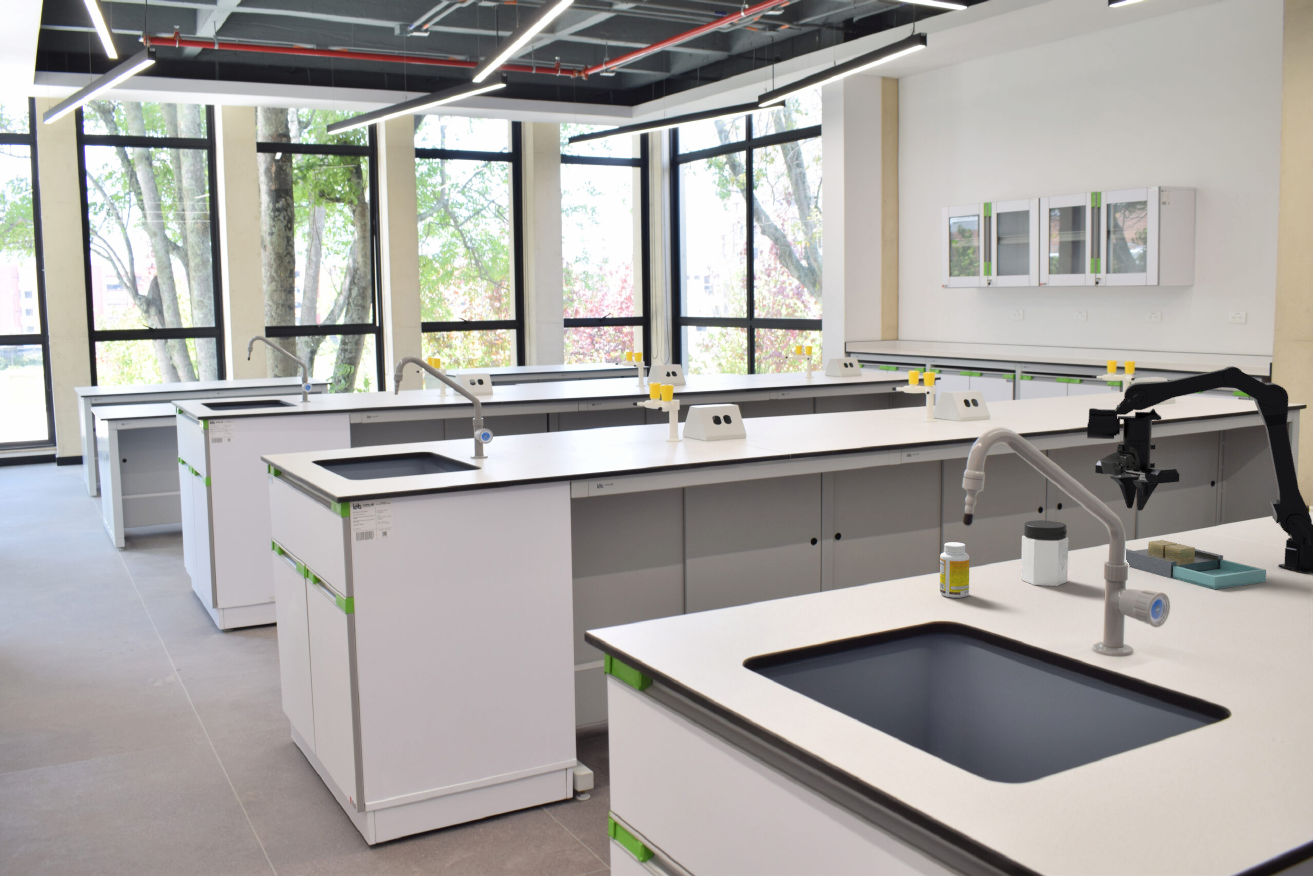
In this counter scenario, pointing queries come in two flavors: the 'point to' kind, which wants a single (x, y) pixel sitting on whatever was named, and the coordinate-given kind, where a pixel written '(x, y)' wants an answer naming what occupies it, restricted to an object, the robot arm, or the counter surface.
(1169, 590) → the counter surface
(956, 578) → the supplement bottle
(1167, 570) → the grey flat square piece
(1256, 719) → the counter surface
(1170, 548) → the chip
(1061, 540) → the jar
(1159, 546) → the tan square block
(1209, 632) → the counter surface
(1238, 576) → the tray
